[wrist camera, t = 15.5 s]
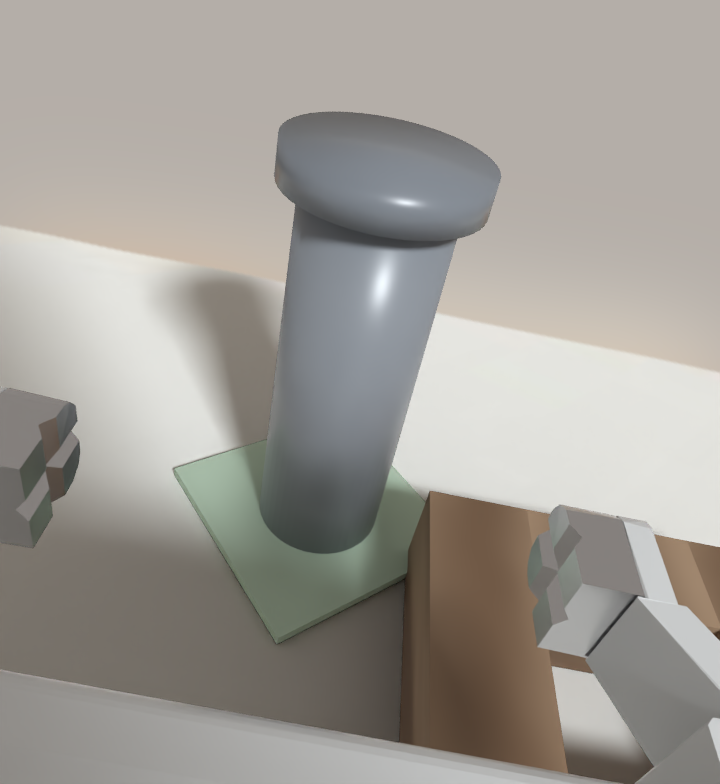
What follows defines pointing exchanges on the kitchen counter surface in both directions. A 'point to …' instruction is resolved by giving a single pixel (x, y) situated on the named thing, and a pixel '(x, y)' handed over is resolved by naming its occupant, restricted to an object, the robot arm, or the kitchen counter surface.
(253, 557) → the mat
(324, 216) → the grey capped peg
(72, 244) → the kitchen counter surface
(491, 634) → the socket block
